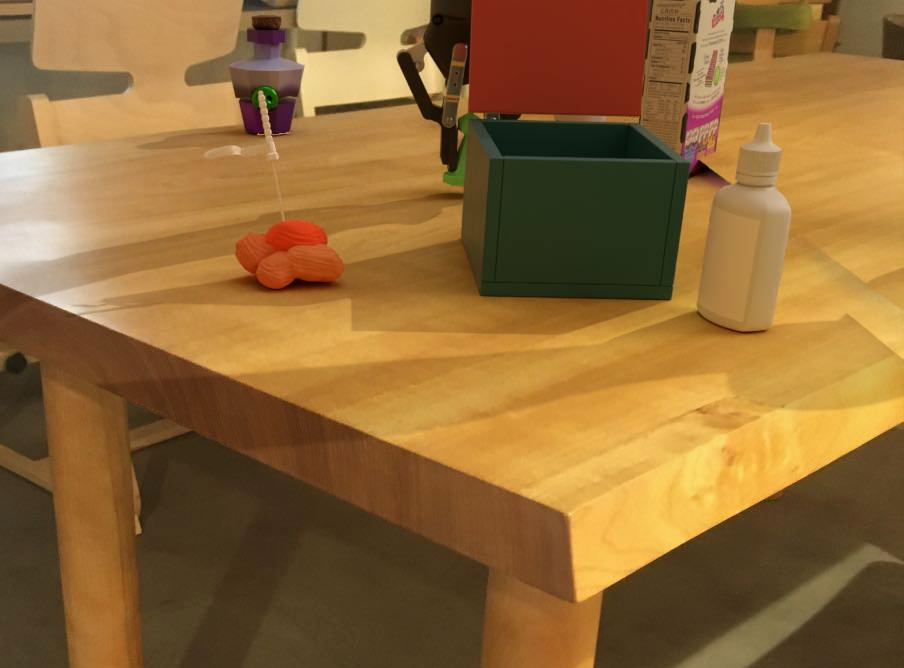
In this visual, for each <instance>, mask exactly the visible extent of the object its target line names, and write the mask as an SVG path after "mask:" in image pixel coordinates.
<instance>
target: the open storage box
mask: <svg viewBox="0 0 904 668" xmlns="http://www.w3.org/2000/svg"><path fill="white" fill-rule="evenodd" d="M690 164H691V163H690V162H689V161H687V160H686V159H685V158H684V157H682V156H681V155H680V154H678V153H677V152H676V151H674V150H673V149H672V148H670V147H669V146H668V145H667V144H665V143H664V142H663V141H661V140H660V139H659V138H657V137H656V136H655V135H654V134H652V133H651V132H650V131H648V130H647V129H646V128H644V127H643V126H642V125H640V124H639V122H626V121H625V122H624V121H623V122H620V121H617V122H616V121H605V122H584V121H556V120H536V119H535V120H534V119H533V120H532V119H518V120H500V119H484V118H480V119H468V128H467V144H466V161H465V178H464V186H463V194H462V195H463V197H462V198H463V199H462V212H461V213H462V214H461V229H460V240H461V242H462V246H463V248H464V252H465V253H466V257H467V260H468V263H469V267H470V268H471V272H472V275H473V278H474V281H475V283H476V286H477V289H478V293H479V296H482V297H483V296H487V297H489V296H490V297H529V298H530V297H531V298H533V297H537V298H577V299H578V298H582V299H626V300H627V299H629V300H631V299H634V300H635V299H636V300H672V298H673V293H674V285H675V284H674V283H675V276H676V270H677V262H678V255H679V249H680V242H681V241H680V240H681V235H682V229H683V228H682V227H683V221H684V220H683V219H684V213H685V205H686V199H687V191H688V184H689V179H690V177H689V171H690Z"/></svg>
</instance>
